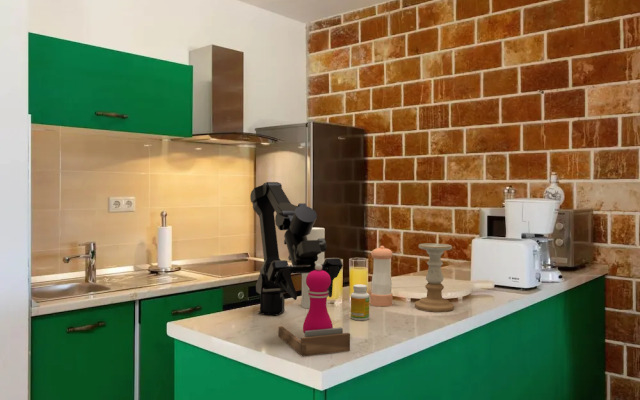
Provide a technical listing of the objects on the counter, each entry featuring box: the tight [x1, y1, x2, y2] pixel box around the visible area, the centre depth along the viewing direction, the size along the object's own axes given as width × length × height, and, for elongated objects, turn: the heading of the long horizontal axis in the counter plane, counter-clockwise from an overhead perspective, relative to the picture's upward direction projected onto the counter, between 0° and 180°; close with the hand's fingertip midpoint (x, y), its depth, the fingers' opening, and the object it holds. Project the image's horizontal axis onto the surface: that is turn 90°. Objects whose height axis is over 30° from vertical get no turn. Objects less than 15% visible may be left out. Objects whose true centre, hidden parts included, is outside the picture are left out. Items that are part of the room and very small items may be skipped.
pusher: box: [304, 327, 344, 337], centre depth 128 cm, size 1×9×5 cm, turn 113°
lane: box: [277, 325, 351, 357], centre depth 134 cm, size 18×12×4 cm
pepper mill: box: [302, 264, 334, 334], centre depth 132 cm, size 7×7×20 cm
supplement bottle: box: [350, 283, 370, 321], centre depth 160 cm, size 5×5×10 cm
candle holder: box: [414, 242, 455, 313], centre depth 174 cm, size 12×12×20 cm
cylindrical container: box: [301, 227, 326, 310], centre depth 175 cm, size 7×7×25 cm
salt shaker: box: [369, 245, 394, 307], centre depth 179 cm, size 7×7×19 cm
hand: (313, 297), depth 134 cm, fingers open, 9 cm apart
